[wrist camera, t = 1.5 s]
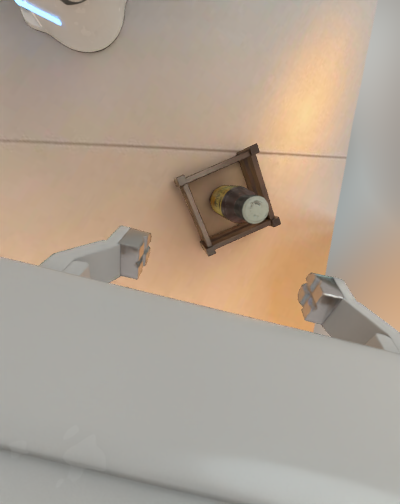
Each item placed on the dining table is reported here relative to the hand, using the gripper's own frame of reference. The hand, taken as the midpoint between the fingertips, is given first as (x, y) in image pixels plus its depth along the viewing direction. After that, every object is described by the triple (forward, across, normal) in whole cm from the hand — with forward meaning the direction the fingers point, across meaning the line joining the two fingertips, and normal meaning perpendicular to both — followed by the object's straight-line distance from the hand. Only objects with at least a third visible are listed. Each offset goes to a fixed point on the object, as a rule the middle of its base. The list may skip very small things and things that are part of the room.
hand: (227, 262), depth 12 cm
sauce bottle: (+40, -1, +12) cm, 41 cm away
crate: (+40, -1, +12) cm, 41 cm away
